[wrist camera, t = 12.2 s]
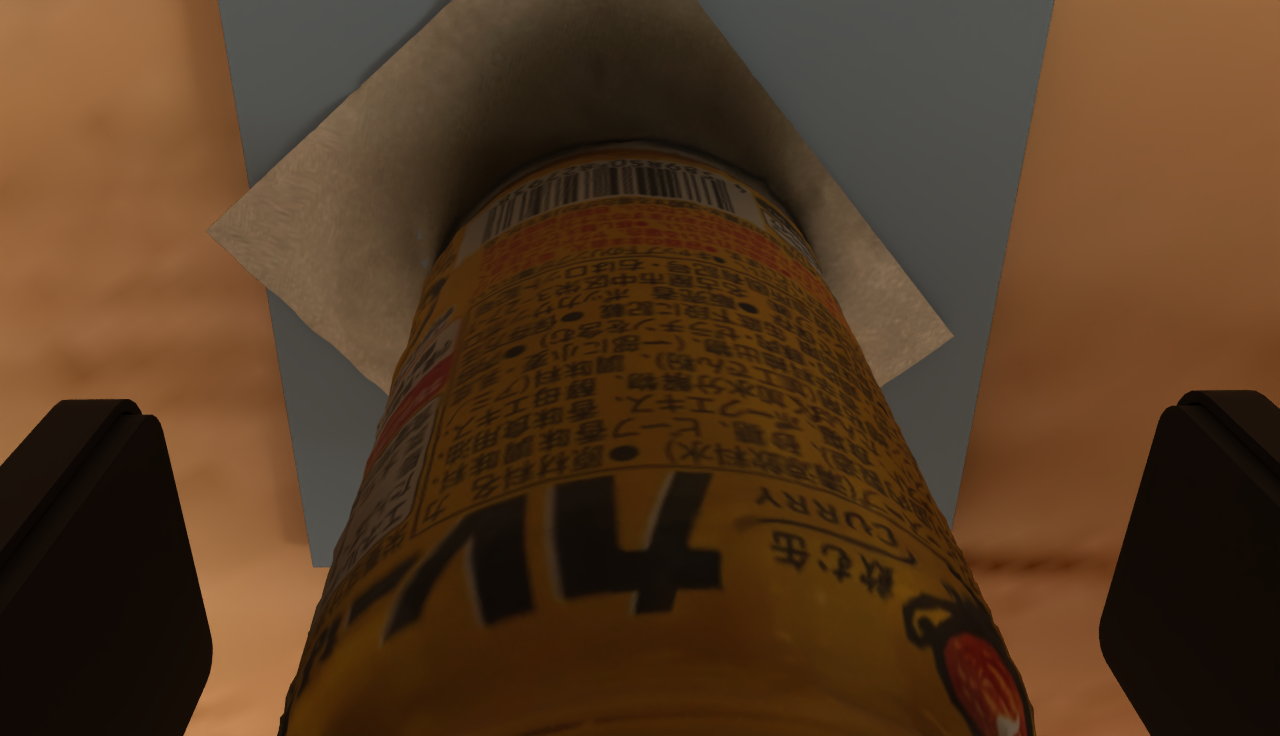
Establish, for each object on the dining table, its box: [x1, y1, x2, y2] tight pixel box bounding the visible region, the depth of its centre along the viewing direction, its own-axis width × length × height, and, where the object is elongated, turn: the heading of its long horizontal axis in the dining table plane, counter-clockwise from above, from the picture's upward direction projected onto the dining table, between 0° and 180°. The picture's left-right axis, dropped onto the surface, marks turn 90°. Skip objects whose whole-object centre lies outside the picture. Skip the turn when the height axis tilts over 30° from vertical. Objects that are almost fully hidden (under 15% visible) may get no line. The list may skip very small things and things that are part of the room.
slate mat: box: [218, 0, 1054, 567], centre depth 16 cm, size 11×11×1 cm
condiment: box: [206, 0, 1036, 736], centre depth 10 cm, size 7×8×12 cm
